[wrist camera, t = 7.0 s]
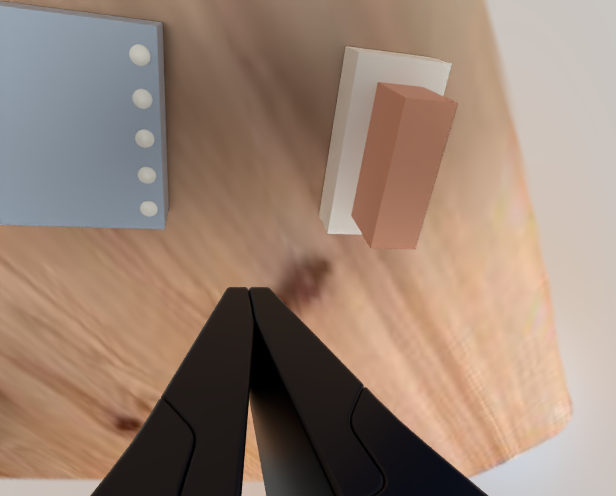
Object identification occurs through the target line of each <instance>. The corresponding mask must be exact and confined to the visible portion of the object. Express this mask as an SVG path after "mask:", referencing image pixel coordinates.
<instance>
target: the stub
mask: <svg viewBox="0 0 616 496" xmlns="http://www.w3.org/2000/svg"><path fill="white" fill-rule="evenodd" d="M451 66H452V64H451V63H448V62H445V61H442V60H438V59H435V58H432V57H426V56H418V55H410V54H403V53H395V52H387V51H380V50H372V49H364V48H356V47H349V46H346V47H345V53H344V60H343V66H342V72H341V79H340V85H339V91H338V98H337V104H336V110H335V116H334V123H333V129H332V135H331V142H330V148H329V154H328V161H327V167H326V173H325V180H324V186H323V192H322V199H321V205H320V211H319V217H320V219H321V221H322V223H323V225H324V227H325V229H326V232H327V234H355V235H363V236H364V238H365V239H366V241H367V243H368V244H369V246H370V248H394V249H415V248H416V245H417V241H418V238H419V234H420V231H421V228H422V224H423V221H424V217H425V214H426V211H427V207H428V204H429V200H430V197H431V194H432V190H433V187H434V183H435V180H436V177H437V173H438V170H439V166H440V163H441V160H442V156H443V153H444V149H445V146H446V143H447V139H448V136H449V132H450V129H451V126H452V122H453V119H454V115H455V112H456V109H457V105H458V103H456V102H454V101H452V100H450V99H448V98H446V97H444V96H443V95H444V92H445V88H446V84H447V81H448V77H449V74H450V70H451Z"/></svg>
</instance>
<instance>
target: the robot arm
mask: <svg viewBox="0 0 616 496" xmlns="http://www.w3.org/2000/svg"><path fill="white" fill-rule="evenodd" d="M249 399H250V406H251V412H252V417H253V423H254V428H255V434H256V440H257V445H258V451H259V457H260V462H261V468H262V474H263V479H264V485H265V491H266V496H488V495H487V494H486V493H484V492H483V491H482V490H481V489H480V488H478V487H477V486H476V485H475V484H474V483H473V482H471V481H470V480H469V479H468V478H467V477H465V476H464V475H463V474H462V473H461V472H459V471H458V470H457V469H456V468H455V467H454V466H452V465H451V464H450V463H449V462H448V461H446V460H445V459H444V458H443V457H442V456H440V455H439V454H438V453H437V452H436V451H434V450H433V449H432V448H431V447H430V446H429V445H427V444H426V443H425V442H424V441H423V440H422V439H420V438H419V437H418V436H417V435H416V434H415V433H414V432H412V431H411V430H410V429H409V428H408V427H407V426H406V425H404V424H403V423H402V422H401V421H400V420H399V419H398V418H397V417H396V416H395V415H394V414H393V413H392V412H391V411H390V410H389V409H388V408H387V407H385V406H384V405H383V404H382V403H381V402H380V401H379V400H378V399H377V398H376V397H375V396H374V395H373V394H372V393H371V391H370V390H369V389H368V388H366V387H364V385H363V383H362V382H361V381H360V380H359V379H358V378H357V377H356V376H355V375H354V374H353V373H352V372H351V371H350V370H349V369H348V368H347V367H346V366H345V365H344V364H343V363H342V362H341V361H340V360H339V359H338V358H337V357H336V356H335V355H334V354H333V353H332V352H331V351H330V350H329V349H328V348H327V347H326V346H325V344H324V343H323V342H322V341H321V340H320V339H319V338H318V337H317V336H316V335H315V334H314V333H313V332H312V331H311V330H310V329H309V328H308V327H307V326H306V325H305V324H304V323H303V322H302V321H301V320H300V319H299V318H298V317H297V316H296V315H295V314H294V313H293V312H292V311H291V310H290V309H289V308H288V306H287V305H286V304H285V303H284V302H283V301H282V300H281V299H280V298H279V297H278V296H277V295H276V294H275V293H274V292H273V291H272V290H271V289H270V288H268V287H251V288H249V290H248V288H246V287H229V288H227V290H226V291H225V293H224V294H223V296H222V298H221V299H220V301H219V303H218V304H217V306H216V307H215V309H214V311H213V312H212V314H211V316H210V317H209V319H208V321H207V322H206V324H205V326H204V327H203V329H202V330H201V332H200V334H199V335H198V337H197V339H196V340H195V342H194V344H193V345H192V347H191V349H190V350H189V352H188V353H187V355H186V357H185V358H184V360H183V362H182V363H181V365H180V367H179V368H178V370H177V371H176V373H175V375H174V376H173V378H172V380H171V381H170V383H169V385H168V386H167V388H166V390H165V391H164V393H163V394H162V396H161V399H160V400H159V401H158V402H157V404H156V405H155V407H154V409H153V410H152V412H151V414H150V415H149V417H148V418H147V420H146V422H145V423H144V425H143V426H142V428H141V429H140V431H139V432H138V434H137V435H136V437H135V438H134V440H133V441H132V443H131V444H130V445H129V447H128V448H127V449H126V451H125V452H124V453H123V455H122V456H121V457H120V459H119V460H118V461H117V462H116V464H115V465H114V466H113V468H112V469H111V470H110V472H109V473H108V474H107V476H106V477H105V478H104V479H103V481H102V482H101V483H100V484H99V486H98V487H97V488H96V489H95V491H94V492H93V493H92V494H91V496H241V494H242V481H243V469H244V456H245V443H246V431H247V418H248V406H249Z"/></svg>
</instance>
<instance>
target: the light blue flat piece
mask: <svg viewBox="0 0 616 496" xmlns="http://www.w3.org/2000/svg"><path fill="white" fill-rule="evenodd" d="M168 211H169V201H168V171H167V141H166V111H165V80H164V50H163V22H157V21H149V20H142V19H134V18H126V17H119V16H111V15H103V14H96V13H88V12H80V11H73V10H65V9H57V8H50V7H42V6H34V5H27V4H19V3H11V2H4V1H0V225H22V226H59V227H96V228H133V229H165V226H166V221H167V216H168Z"/></svg>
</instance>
